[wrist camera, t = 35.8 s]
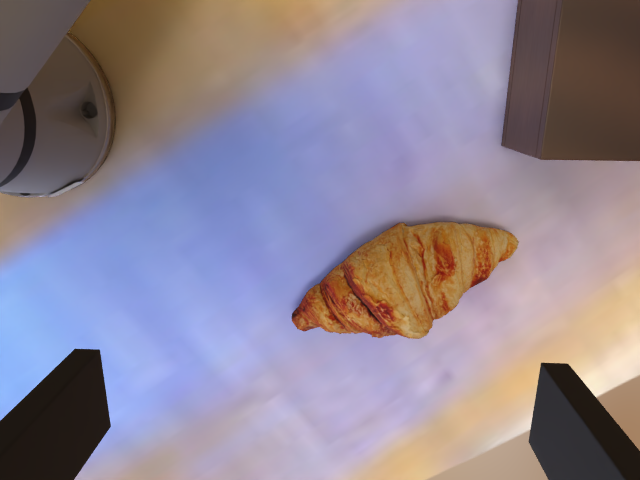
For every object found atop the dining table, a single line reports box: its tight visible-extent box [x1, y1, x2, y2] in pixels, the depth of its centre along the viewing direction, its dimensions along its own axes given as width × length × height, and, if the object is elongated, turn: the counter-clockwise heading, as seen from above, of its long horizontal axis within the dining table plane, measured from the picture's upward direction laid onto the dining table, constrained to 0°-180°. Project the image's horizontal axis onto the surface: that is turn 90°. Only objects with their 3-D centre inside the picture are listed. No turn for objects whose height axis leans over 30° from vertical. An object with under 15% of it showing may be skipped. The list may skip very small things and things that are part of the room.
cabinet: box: [502, 0, 640, 161], centre depth 35 cm, size 17×14×9 cm
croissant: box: [292, 222, 519, 339], centre depth 43 cm, size 21×10×8 cm, turn 114°
